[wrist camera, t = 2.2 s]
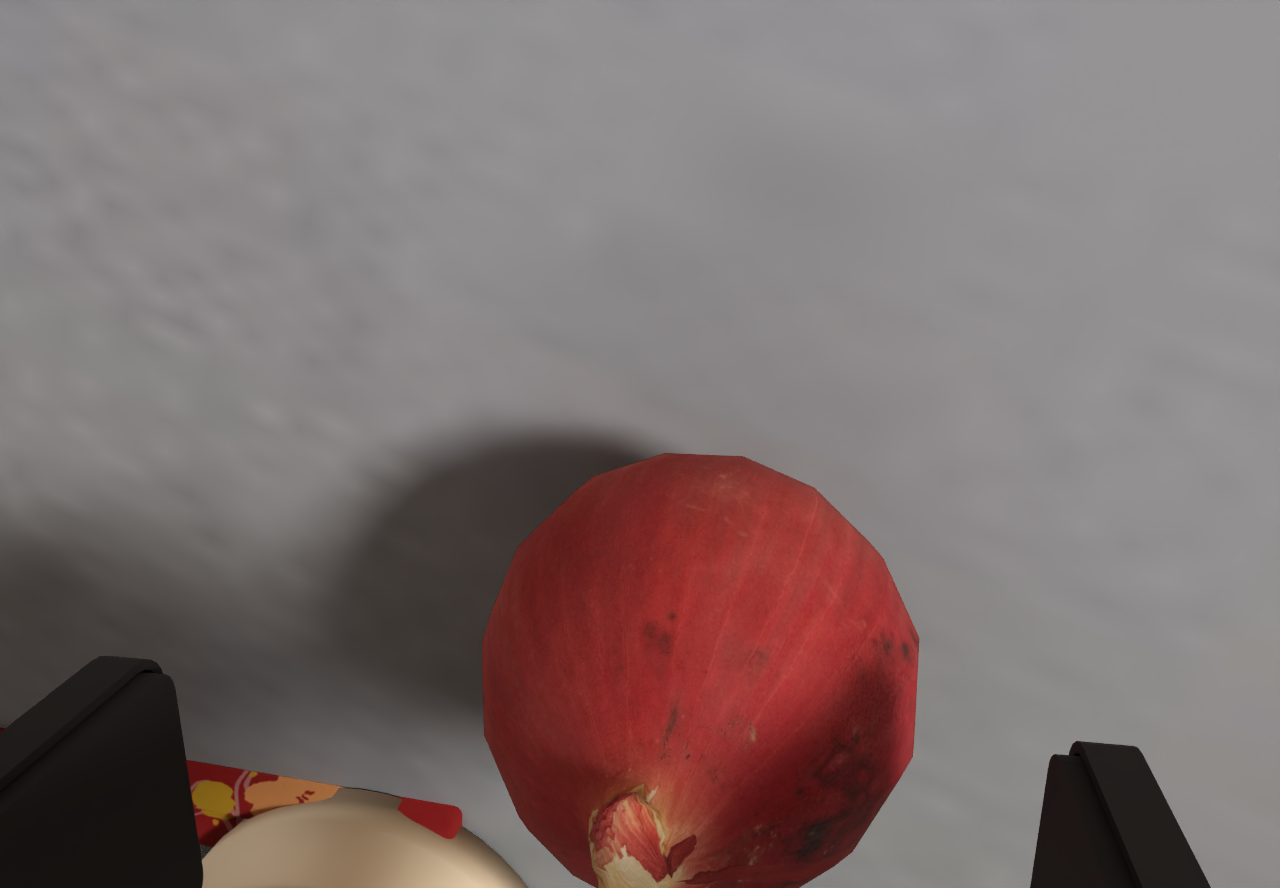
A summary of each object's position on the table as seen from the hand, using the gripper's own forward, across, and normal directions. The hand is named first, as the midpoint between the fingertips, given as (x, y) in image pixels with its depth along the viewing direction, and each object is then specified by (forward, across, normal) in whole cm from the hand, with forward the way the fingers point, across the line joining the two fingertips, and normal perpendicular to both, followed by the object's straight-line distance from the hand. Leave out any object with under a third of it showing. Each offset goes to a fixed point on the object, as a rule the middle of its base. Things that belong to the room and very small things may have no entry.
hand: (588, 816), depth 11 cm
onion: (+7, -1, 0) cm, 7 cm away
